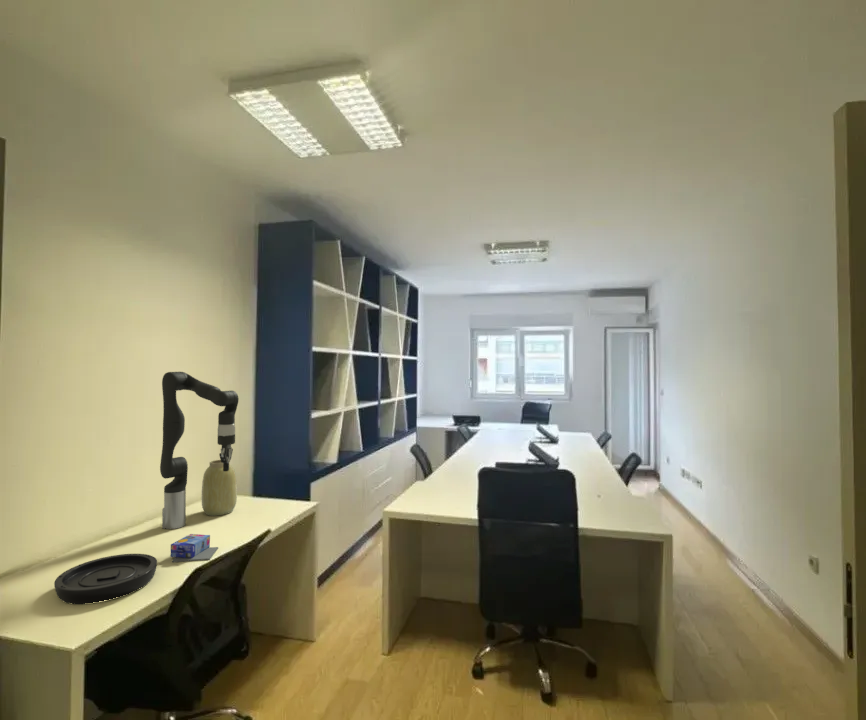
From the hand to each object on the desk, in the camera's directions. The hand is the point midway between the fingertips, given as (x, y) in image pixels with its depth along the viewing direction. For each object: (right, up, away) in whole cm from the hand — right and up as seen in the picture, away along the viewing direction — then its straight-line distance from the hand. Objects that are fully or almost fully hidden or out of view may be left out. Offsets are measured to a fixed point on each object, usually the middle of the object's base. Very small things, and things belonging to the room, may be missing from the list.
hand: (226, 470), depth 218 cm
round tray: (-20, -29, -51) cm, 62 cm away
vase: (-18, -30, +33) cm, 48 cm away
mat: (-2, -29, -24) cm, 38 cm away
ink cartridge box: (-4, -26, -17) cm, 31 cm away
